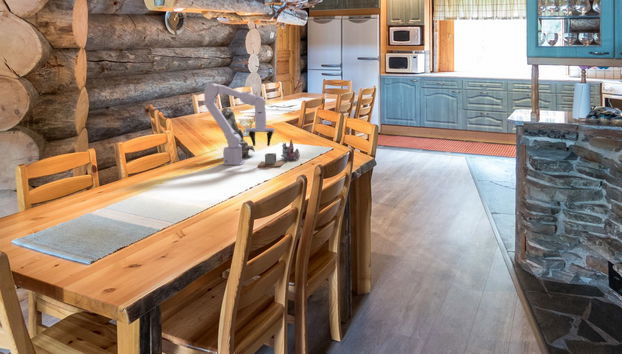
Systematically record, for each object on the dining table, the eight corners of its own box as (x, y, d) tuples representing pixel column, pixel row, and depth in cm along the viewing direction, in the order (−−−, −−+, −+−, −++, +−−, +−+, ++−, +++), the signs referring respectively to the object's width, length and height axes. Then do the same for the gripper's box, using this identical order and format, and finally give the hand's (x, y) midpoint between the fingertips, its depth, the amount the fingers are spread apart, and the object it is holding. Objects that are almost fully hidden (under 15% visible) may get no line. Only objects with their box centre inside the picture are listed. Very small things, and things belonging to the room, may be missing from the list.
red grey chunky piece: (301, 156, 305) (288, 139, 304) (286, 168, 307) (272, 151, 306) (305, 153, 316) (291, 135, 315) (290, 164, 318) (276, 147, 317)
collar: (265, 164, 294) (264, 155, 292) (267, 162, 298) (266, 153, 297) (274, 164, 293) (274, 155, 292) (276, 162, 298) (276, 153, 297)
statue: (224, 163, 313) (208, 110, 312) (230, 162, 332) (215, 112, 330) (253, 154, 312) (237, 102, 311) (257, 154, 331) (242, 104, 329)
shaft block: (257, 167, 292) (257, 158, 291) (261, 163, 302) (261, 155, 301) (280, 167, 291) (280, 158, 290) (283, 163, 300) (283, 155, 299)
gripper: (245, 121, 294) (246, 146, 298) (272, 121, 293) (273, 147, 296) (248, 119, 301) (249, 144, 304) (275, 119, 299) (275, 144, 303)
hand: (261, 145), depth 301 cm, fingers open, 7 cm apart
